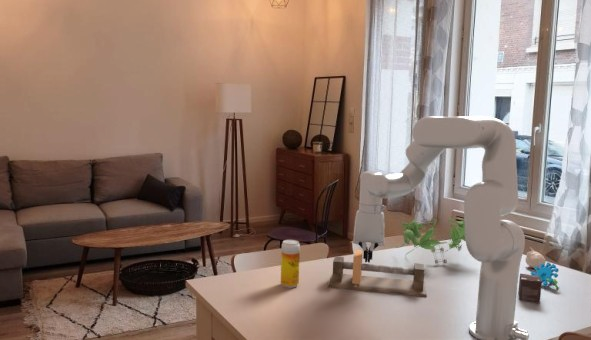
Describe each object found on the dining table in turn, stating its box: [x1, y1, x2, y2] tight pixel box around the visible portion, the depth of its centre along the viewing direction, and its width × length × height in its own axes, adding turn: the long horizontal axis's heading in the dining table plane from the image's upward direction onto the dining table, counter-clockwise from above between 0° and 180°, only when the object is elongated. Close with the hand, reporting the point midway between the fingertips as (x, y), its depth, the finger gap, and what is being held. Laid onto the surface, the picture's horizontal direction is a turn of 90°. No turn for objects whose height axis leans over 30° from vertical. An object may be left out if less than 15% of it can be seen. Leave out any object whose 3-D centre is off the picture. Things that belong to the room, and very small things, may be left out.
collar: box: [352, 249, 364, 284], centre depth 171 cm, size 2×9×9 cm, turn 169°
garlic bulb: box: [525, 246, 547, 269], centre depth 193 cm, size 7×6×8 cm
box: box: [517, 273, 543, 304], centre depth 162 cm, size 6×6×7 cm
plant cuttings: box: [395, 218, 466, 267], centre depth 197 cm, size 35×17×22 cm
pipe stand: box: [327, 255, 428, 298], centre depth 170 cm, size 32×12×8 cm, turn 79°
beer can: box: [280, 239, 301, 289], centre depth 167 cm, size 6×6×15 cm
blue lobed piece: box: [529, 261, 560, 290], centre depth 176 cm, size 11×6×10 cm
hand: (367, 261), depth 170 cm, fingers closed
